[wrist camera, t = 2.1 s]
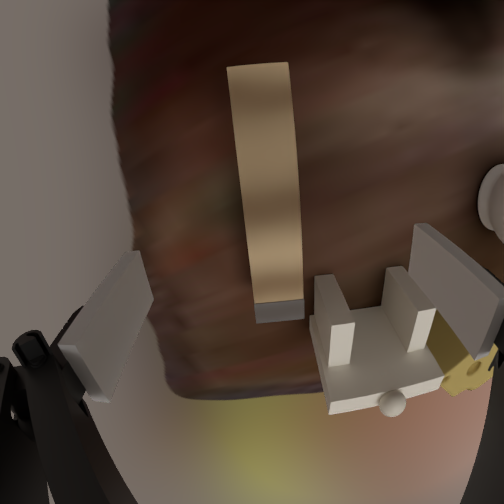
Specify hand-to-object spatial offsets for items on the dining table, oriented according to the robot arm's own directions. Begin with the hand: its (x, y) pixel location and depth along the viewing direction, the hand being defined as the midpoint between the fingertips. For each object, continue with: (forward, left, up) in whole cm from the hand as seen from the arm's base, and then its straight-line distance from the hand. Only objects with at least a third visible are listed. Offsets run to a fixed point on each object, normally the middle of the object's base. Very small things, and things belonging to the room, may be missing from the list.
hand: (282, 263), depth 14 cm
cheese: (+19, +23, -15) cm, 33 cm away
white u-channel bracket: (+14, +9, -14) cm, 22 cm away
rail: (0, 0, -14) cm, 14 cm away
